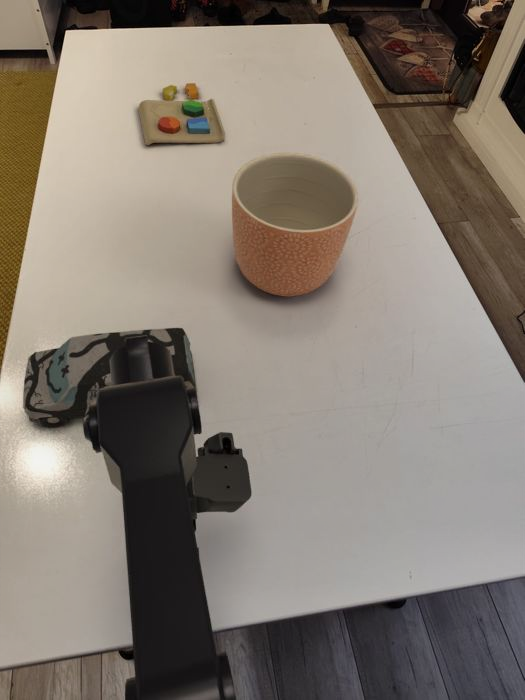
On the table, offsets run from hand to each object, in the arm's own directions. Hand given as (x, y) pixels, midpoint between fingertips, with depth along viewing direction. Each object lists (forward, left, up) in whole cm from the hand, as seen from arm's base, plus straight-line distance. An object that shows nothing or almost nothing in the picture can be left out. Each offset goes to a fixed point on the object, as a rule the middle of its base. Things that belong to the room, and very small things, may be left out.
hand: (168, 522), depth 59 cm
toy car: (+23, +14, -12) cm, 29 cm away
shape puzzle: (+103, +20, -12) cm, 105 cm away
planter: (+54, -10, -12) cm, 56 cm away
